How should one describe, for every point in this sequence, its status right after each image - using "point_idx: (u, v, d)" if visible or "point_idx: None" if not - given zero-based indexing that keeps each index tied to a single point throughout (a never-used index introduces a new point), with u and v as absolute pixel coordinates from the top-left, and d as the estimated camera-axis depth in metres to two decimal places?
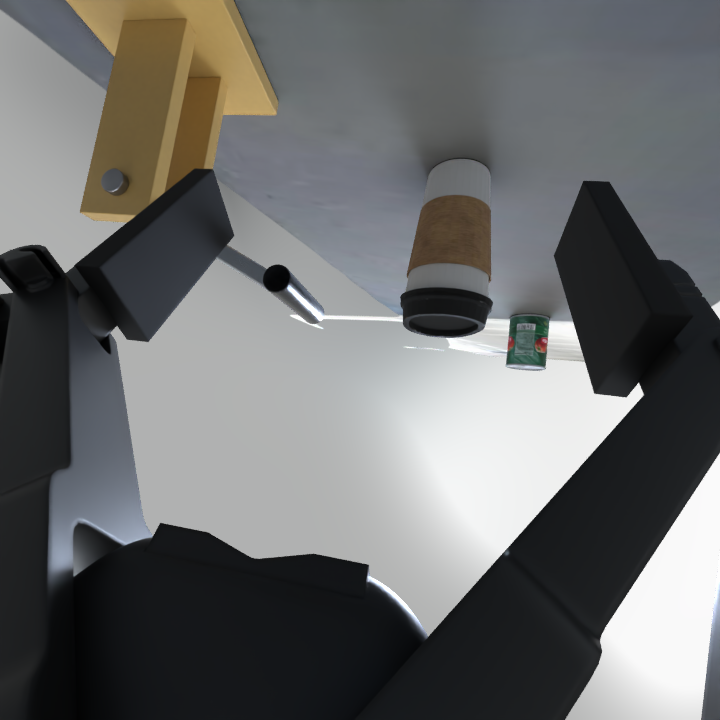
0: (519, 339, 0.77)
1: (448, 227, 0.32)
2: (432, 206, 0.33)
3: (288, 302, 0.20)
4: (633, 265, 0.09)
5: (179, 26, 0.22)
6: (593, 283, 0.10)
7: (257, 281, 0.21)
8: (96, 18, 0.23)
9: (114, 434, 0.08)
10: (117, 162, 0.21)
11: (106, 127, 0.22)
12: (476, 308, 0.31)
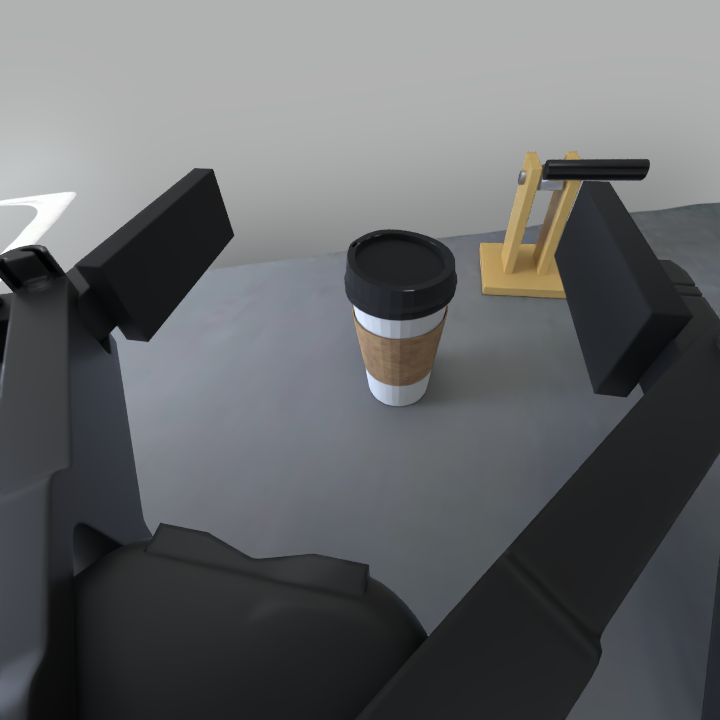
0: None
1: None
2: None
3: (623, 160, 0.27)
4: (633, 265, 0.09)
5: None
6: (592, 283, 0.10)
7: None
8: None
9: (114, 434, 0.08)
10: None
11: None
12: (442, 292, 0.25)
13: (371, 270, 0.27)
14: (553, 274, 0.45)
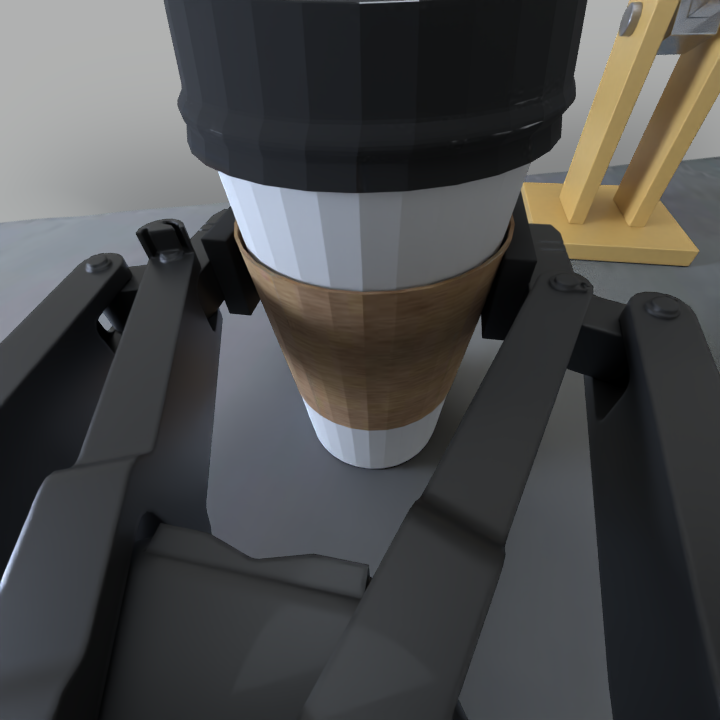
0: None
1: None
2: None
3: None
4: None
5: None
6: None
7: None
8: None
9: (199, 415, 0.08)
10: None
11: None
12: (545, 72, 0.06)
13: None
14: (656, 226, 0.26)
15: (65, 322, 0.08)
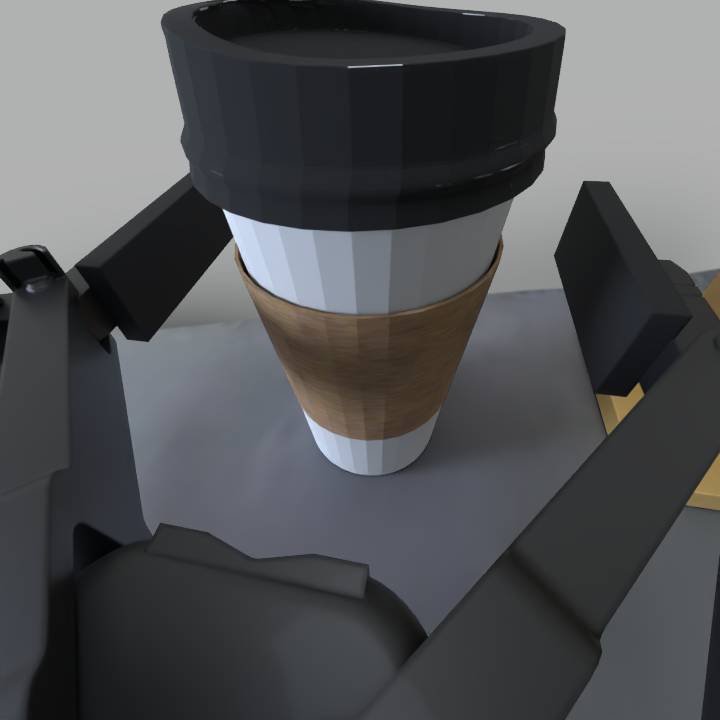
0: None
1: None
2: None
3: None
4: (633, 265, 0.09)
5: None
6: (592, 283, 0.10)
7: None
8: None
9: (114, 434, 0.08)
10: None
11: None
12: (523, 119, 0.06)
13: None
14: None
15: None
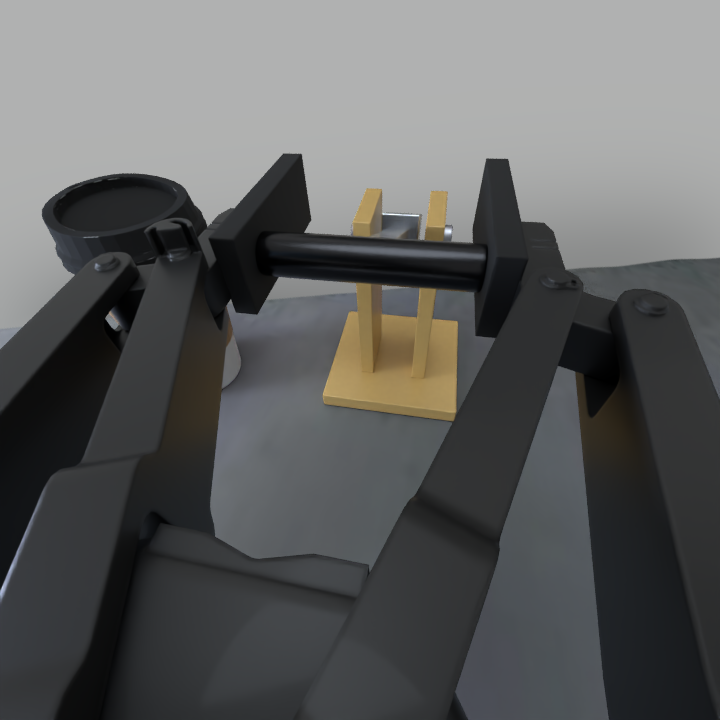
0: None
1: None
2: None
3: (425, 246, 0.11)
4: (498, 223, 0.10)
5: None
6: None
7: None
8: (430, 326, 0.33)
9: (205, 415, 0.08)
10: None
11: None
12: None
13: (82, 217, 0.21)
14: (436, 377, 0.29)
15: (72, 321, 0.08)
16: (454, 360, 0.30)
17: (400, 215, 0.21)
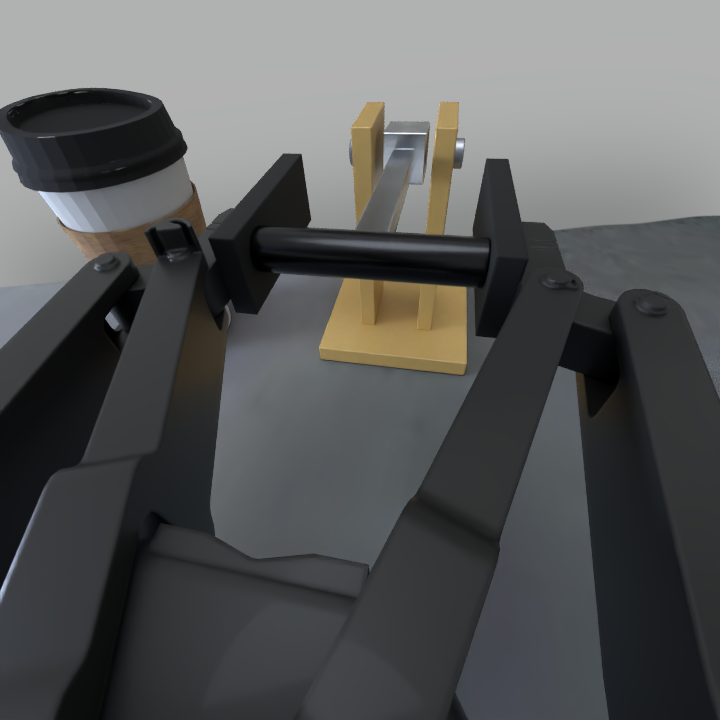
0: None
1: None
2: None
3: (425, 246, 0.10)
4: (498, 222, 0.10)
5: None
6: None
7: (394, 212, 0.13)
8: None
9: (205, 415, 0.08)
10: None
11: None
12: (119, 151, 0.17)
13: (42, 128, 0.18)
14: (443, 328, 0.26)
15: (72, 321, 0.08)
16: (463, 312, 0.27)
17: (404, 134, 0.18)
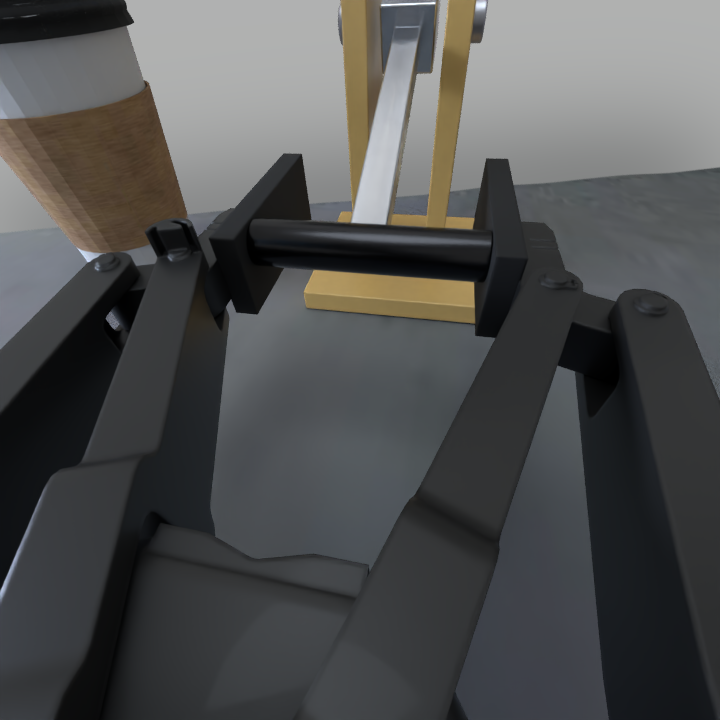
0: None
1: (164, 167, 0.20)
2: (182, 197, 0.23)
3: (424, 250, 0.10)
4: (497, 222, 0.10)
5: None
6: None
7: (394, 178, 0.11)
8: (444, 223, 0.26)
9: (205, 415, 0.08)
10: None
11: None
12: None
13: None
14: None
15: (73, 321, 0.08)
16: None
17: (407, 6, 0.14)
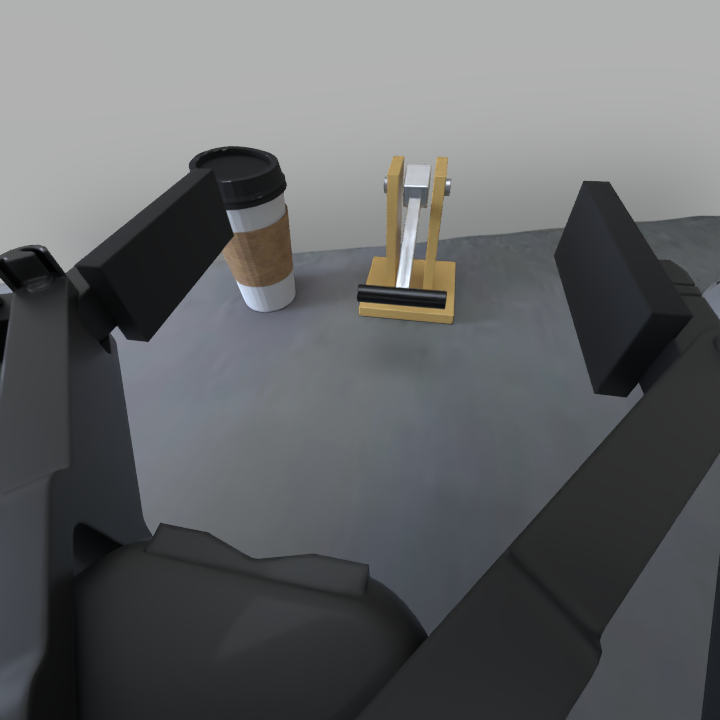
0: None
1: (288, 242, 0.38)
2: None
3: (423, 298, 0.28)
4: (633, 265, 0.09)
5: None
6: (592, 283, 0.10)
7: (411, 268, 0.30)
8: (435, 265, 0.44)
9: (114, 434, 0.08)
10: None
11: None
12: (260, 188, 0.31)
13: None
14: None
15: None
16: (452, 285, 0.41)
17: (415, 187, 0.32)
